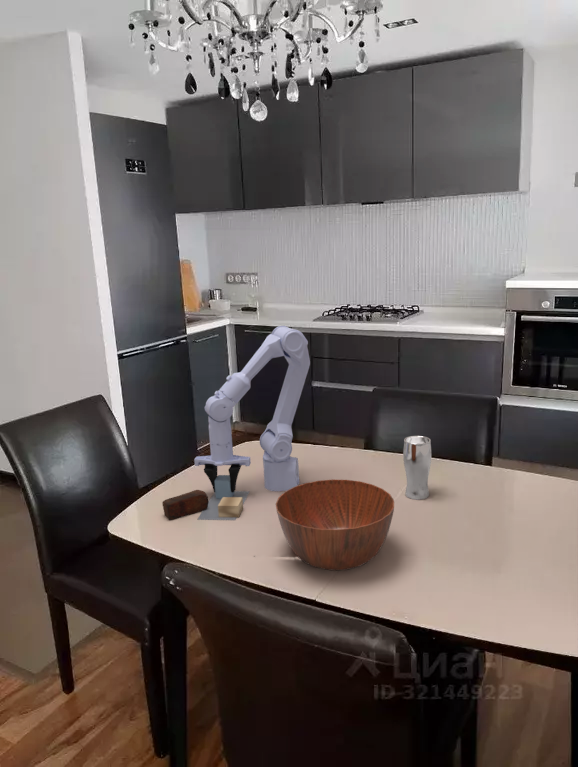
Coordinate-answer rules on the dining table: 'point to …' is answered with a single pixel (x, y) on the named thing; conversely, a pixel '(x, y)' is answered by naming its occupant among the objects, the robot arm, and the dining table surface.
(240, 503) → the oak block
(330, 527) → the bowl
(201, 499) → the brick
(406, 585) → the dining table surface
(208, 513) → the board
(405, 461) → the beer glass
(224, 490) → the blue block
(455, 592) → the dining table surface
